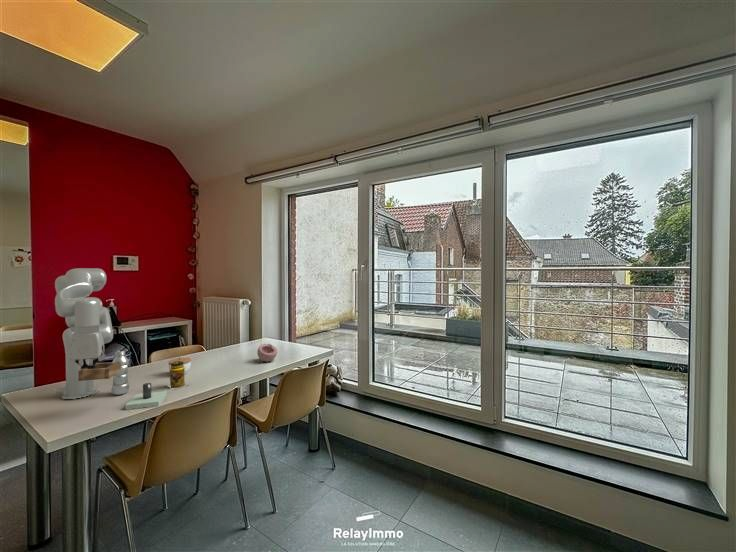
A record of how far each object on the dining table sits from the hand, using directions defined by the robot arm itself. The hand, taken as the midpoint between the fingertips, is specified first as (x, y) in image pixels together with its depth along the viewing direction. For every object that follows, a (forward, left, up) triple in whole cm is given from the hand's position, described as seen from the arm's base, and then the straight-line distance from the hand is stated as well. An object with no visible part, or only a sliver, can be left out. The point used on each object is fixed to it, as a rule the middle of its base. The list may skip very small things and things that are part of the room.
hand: (87, 374), depth 128 cm
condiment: (+26, +22, -15) cm, 37 cm away
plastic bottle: (+4, +18, -15) cm, 24 cm away
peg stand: (+19, +4, -15) cm, 25 cm away
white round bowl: (+23, +41, -15) cm, 50 cm away
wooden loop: (+4, 0, -1) cm, 4 cm away
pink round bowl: (+69, +53, -15) cm, 89 cm away
